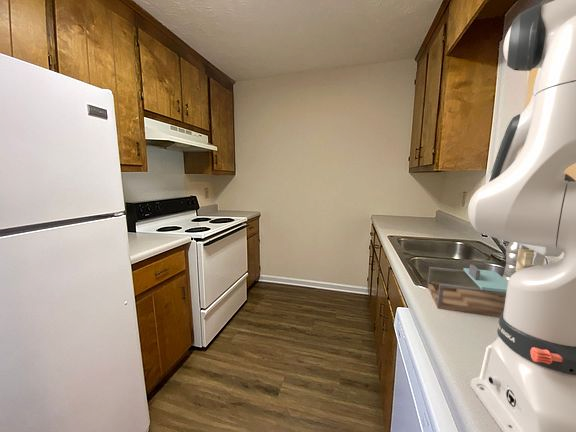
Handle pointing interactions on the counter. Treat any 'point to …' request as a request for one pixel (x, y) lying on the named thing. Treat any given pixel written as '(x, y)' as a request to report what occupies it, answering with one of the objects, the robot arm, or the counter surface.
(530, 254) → the block
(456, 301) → the brown wooden box
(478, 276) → the cover
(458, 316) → the counter surface
